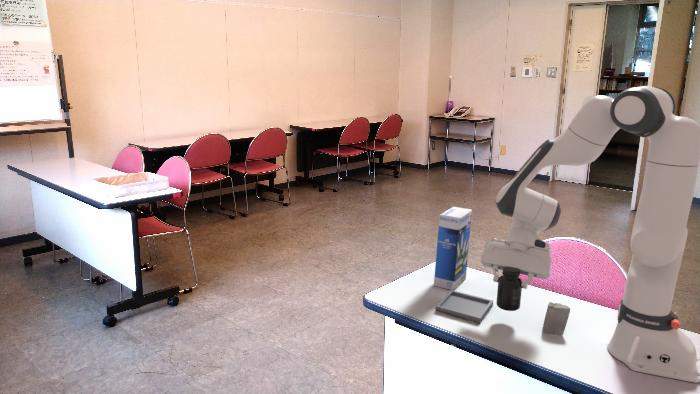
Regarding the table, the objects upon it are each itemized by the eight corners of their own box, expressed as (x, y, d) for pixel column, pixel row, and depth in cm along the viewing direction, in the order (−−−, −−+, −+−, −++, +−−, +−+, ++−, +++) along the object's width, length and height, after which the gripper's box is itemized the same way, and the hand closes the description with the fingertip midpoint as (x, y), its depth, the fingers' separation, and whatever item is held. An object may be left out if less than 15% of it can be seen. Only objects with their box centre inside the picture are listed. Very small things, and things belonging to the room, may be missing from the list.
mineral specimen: (575, 334, 150) (573, 309, 148) (544, 338, 151) (542, 313, 148) (566, 320, 157) (564, 296, 155) (536, 324, 158) (534, 301, 156)
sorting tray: (492, 305, 167) (493, 300, 167) (479, 323, 155) (480, 318, 155) (450, 295, 174) (451, 290, 173) (435, 311, 162) (435, 306, 161)
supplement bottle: (517, 302, 159) (521, 265, 156) (522, 312, 153) (526, 274, 149) (494, 300, 160) (497, 263, 157) (497, 310, 153) (502, 272, 150)
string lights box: (453, 291, 177) (459, 218, 170) (432, 285, 180) (438, 214, 174) (466, 278, 188) (473, 209, 181) (446, 273, 191) (452, 205, 185)
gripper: (485, 232, 162) (473, 272, 156) (555, 245, 152) (544, 288, 146) (488, 241, 167) (476, 280, 161) (556, 255, 157) (545, 297, 151)
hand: (509, 284), depth 154 cm, fingers closed on supplement bottle, 7 cm apart
